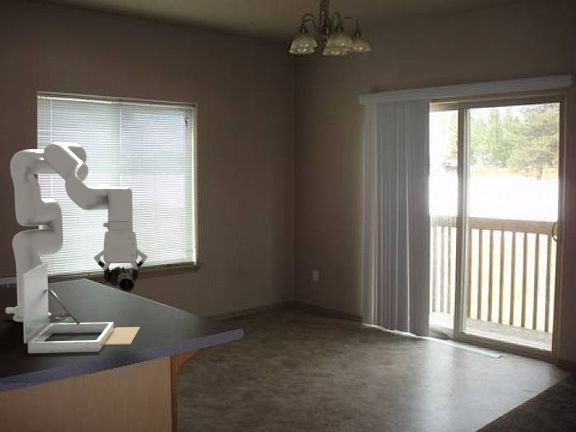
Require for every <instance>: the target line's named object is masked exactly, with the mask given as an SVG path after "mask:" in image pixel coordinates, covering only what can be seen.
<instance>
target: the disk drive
mask: <svg viewBox="0 0 576 432" xmlns="http://www.w3.org/2000/svg"><path fill="white" fill-rule="evenodd" d="M77 320H78V321H79V322H80V323H83V322H82V321H81V320H80V319H79V318H77ZM49 322H51V324H56V323H76V322H75V321H74V320H73V319H72V318H71V317H70V315H69V314H68V313H67V312H64V313H57V314H51V315H49Z"/></svg>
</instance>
